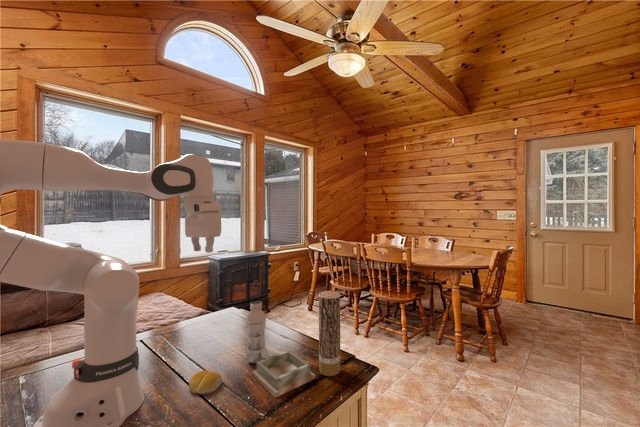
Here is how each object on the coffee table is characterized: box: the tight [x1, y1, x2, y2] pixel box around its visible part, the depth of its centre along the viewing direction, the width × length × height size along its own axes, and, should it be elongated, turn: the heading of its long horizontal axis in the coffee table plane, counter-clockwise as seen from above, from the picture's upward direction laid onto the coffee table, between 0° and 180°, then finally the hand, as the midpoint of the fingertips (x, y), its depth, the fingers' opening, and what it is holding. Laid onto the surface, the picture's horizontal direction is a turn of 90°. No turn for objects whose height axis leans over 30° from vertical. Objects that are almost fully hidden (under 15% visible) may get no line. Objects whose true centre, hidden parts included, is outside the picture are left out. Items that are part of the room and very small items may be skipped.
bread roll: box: [188, 369, 223, 395], centre depth 85 cm, size 8×9×4 cm
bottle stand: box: [251, 349, 316, 398], centre depth 90 cm, size 14×14×4 cm
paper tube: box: [318, 290, 341, 377], centre depth 92 cm, size 7×7×25 cm
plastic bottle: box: [245, 300, 267, 364], centre depth 99 cm, size 6×7×20 cm
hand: (203, 251), depth 90 cm, fingers open, 8 cm apart
